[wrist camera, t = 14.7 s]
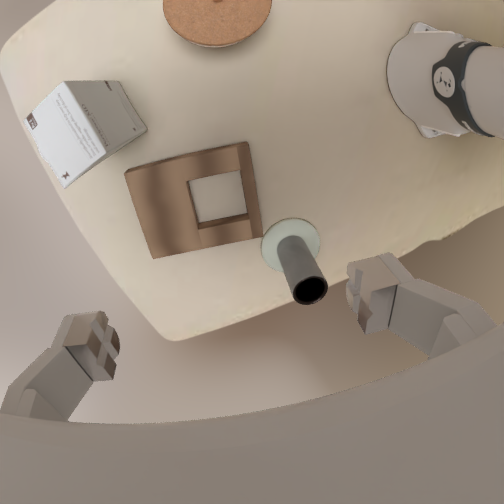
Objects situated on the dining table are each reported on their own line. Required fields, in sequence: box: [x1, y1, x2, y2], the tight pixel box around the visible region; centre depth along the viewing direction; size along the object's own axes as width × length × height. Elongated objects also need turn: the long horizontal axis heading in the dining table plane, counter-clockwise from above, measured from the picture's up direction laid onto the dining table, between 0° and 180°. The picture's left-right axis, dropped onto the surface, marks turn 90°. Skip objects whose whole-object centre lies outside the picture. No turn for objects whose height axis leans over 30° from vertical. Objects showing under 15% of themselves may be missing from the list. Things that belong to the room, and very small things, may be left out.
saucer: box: [261, 218, 320, 272], centre depth 45 cm, size 9×9×1 cm
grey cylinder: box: [277, 235, 328, 305], centre depth 40 cm, size 4×4×10 cm
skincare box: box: [23, 81, 147, 189], centre depth 26 cm, size 8×6×15 cm
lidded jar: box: [163, 0, 272, 48], centre depth 23 cm, size 11×11×9 cm
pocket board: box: [124, 142, 263, 259], centre depth 39 cm, size 16×13×2 cm
